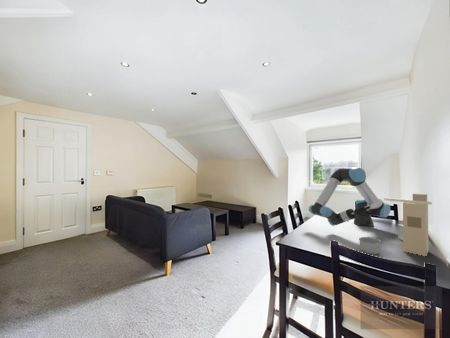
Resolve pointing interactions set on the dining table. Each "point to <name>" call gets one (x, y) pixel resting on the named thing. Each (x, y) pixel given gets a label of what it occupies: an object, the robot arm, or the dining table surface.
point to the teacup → (370, 245)
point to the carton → (415, 228)
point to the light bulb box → (400, 231)
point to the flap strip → (416, 199)
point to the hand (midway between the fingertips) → (378, 203)
